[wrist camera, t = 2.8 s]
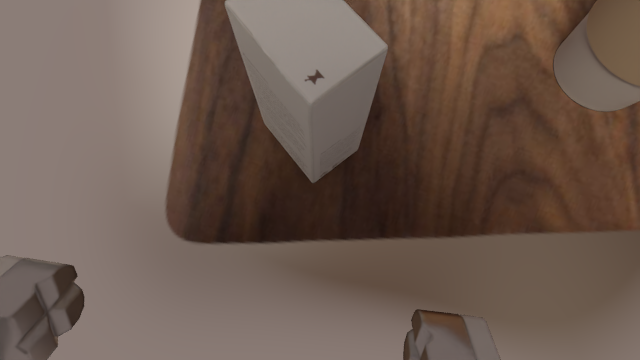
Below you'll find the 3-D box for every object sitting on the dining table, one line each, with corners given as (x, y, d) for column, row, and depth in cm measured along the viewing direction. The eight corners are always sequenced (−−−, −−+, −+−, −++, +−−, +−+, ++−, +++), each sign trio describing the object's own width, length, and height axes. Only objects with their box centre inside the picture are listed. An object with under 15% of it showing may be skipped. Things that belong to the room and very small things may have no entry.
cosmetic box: (360, 149, 26) (394, 48, 14) (312, 185, 25) (309, 109, 14) (307, 88, 27) (301, -50, 16) (261, 121, 27) (217, 1, 15)
